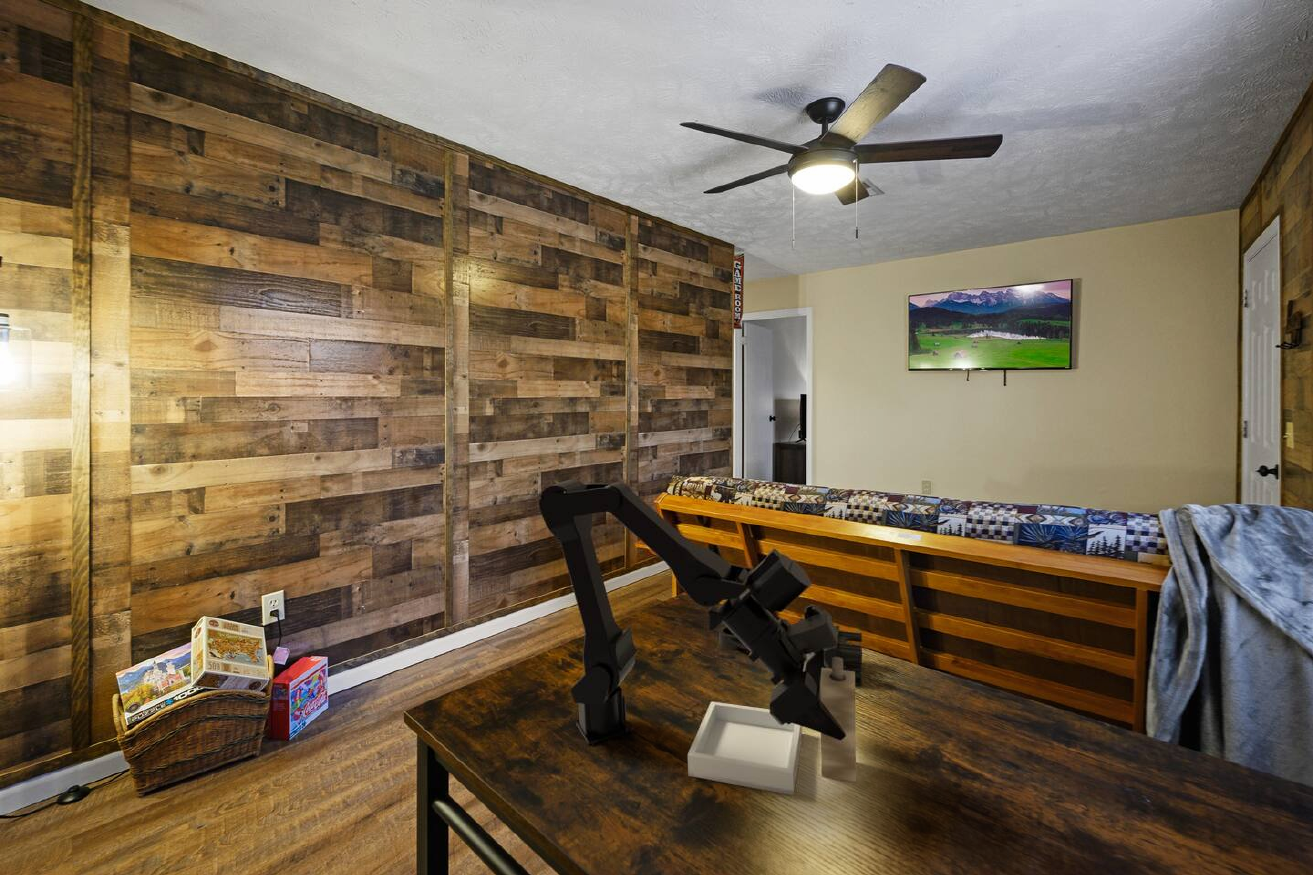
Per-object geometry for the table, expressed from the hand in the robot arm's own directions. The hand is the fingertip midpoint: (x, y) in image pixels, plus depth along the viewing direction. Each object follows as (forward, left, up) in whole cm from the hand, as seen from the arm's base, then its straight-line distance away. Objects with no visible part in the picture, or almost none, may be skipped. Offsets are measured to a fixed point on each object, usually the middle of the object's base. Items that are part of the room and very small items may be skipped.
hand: (843, 718), depth 77 cm
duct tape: (+9, +41, -8) cm, 42 cm away
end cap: (+19, +21, -8) cm, 29 cm away
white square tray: (-9, +9, -7) cm, 15 cm away
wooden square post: (-1, +1, -7) cm, 7 cm away
